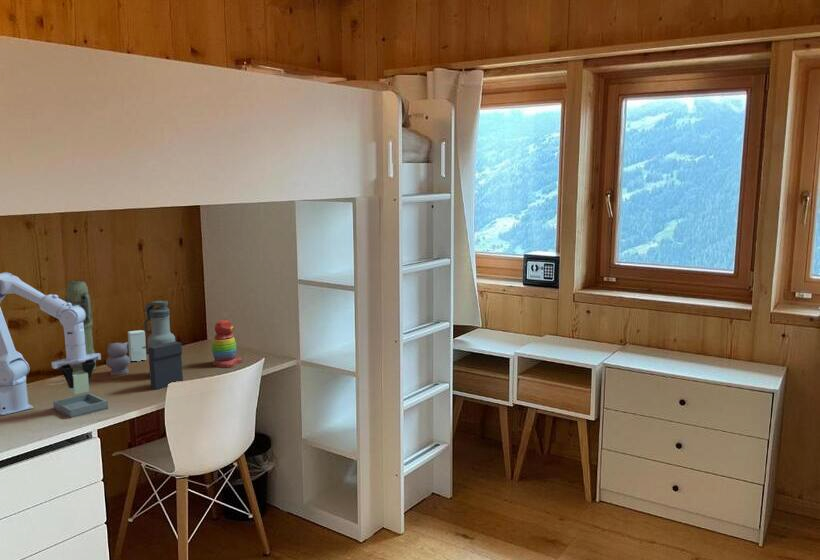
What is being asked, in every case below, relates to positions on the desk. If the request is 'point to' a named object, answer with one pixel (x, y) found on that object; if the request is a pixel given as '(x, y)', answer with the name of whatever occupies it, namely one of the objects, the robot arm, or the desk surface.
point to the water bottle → (158, 324)
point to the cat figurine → (117, 358)
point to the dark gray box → (165, 364)
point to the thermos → (80, 296)
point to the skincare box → (137, 345)
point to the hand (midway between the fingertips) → (79, 385)
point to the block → (80, 382)
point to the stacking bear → (224, 345)
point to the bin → (80, 405)
